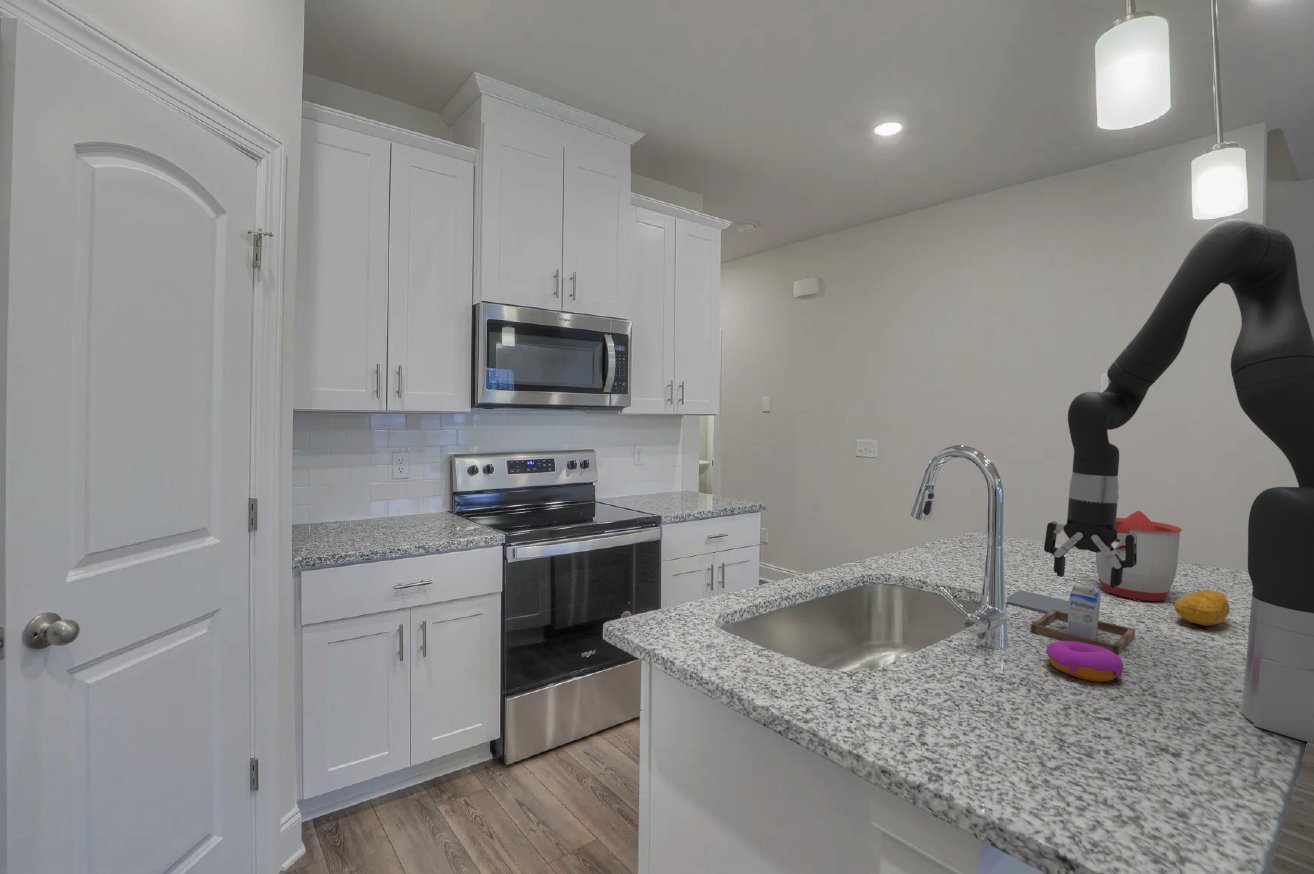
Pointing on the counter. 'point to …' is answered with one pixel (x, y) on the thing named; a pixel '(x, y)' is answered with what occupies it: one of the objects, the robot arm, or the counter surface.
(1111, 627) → the walnut cradle
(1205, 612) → the potato
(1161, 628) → the counter surface
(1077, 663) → the donut
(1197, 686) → the counter surface
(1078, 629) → the medicine box
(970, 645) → the counter surface
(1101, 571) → the citrus juicer
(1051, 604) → the slate mat
